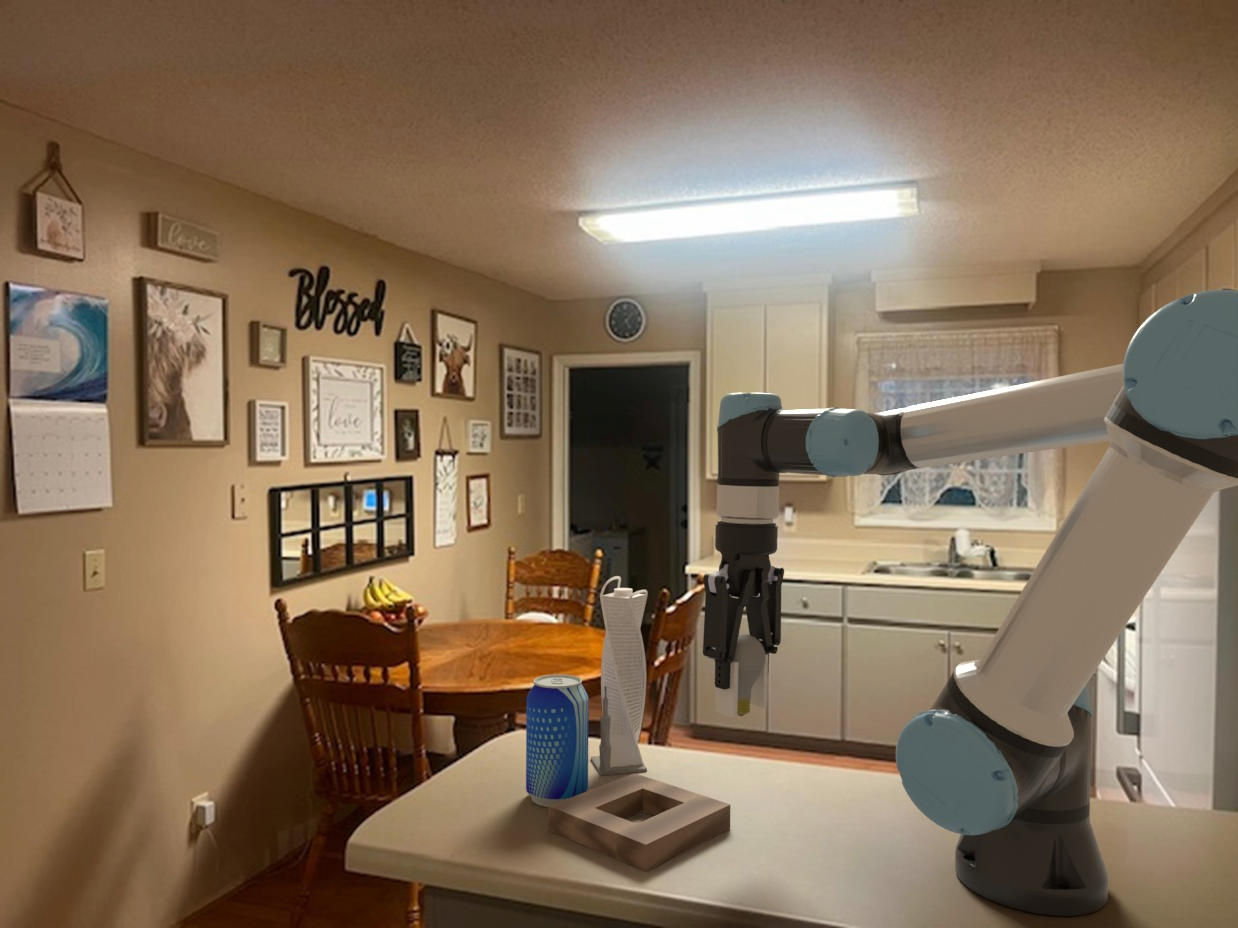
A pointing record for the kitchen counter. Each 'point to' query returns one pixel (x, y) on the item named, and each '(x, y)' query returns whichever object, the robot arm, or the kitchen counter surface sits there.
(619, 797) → the holder
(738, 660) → the light bulb
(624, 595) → the skyscraper
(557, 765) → the beer can
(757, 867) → the kitchen counter surface
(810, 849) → the kitchen counter surface
